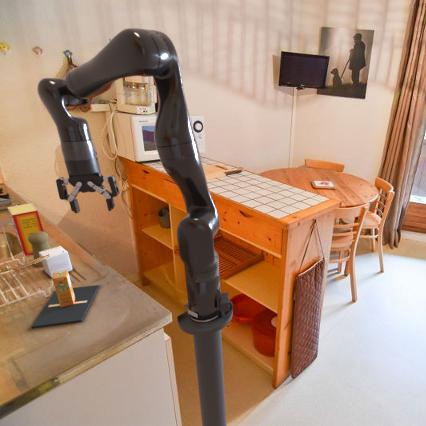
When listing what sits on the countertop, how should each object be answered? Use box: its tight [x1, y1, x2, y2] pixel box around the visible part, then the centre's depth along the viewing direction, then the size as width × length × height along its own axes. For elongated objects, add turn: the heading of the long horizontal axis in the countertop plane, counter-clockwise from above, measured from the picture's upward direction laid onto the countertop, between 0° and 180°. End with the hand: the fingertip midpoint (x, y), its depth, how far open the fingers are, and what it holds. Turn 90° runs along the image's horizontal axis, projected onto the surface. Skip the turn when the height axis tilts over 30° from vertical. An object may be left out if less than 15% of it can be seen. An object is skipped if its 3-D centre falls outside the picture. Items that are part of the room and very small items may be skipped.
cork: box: [28, 231, 52, 267], centre depth 107 cm, size 6×6×11 cm
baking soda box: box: [6, 202, 45, 257], centre depth 113 cm, size 10×6×16 cm
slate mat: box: [31, 284, 100, 329], centre depth 91 cm, size 11×16×1 cm
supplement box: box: [52, 271, 75, 307], centre depth 89 cm, size 3×3×10 cm
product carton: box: [39, 245, 73, 279], centre depth 104 cm, size 6×6×7 cm
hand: (94, 211), depth 93 cm, fingers open, 8 cm apart
